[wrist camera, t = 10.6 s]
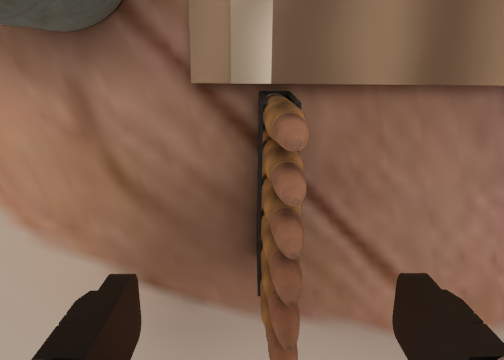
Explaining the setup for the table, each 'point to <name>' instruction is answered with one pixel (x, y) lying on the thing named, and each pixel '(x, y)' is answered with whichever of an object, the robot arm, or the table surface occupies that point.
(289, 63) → the plank
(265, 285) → the ammunition clip
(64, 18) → the grey-green cup
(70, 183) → the table surface
